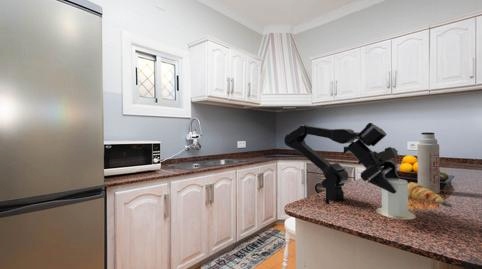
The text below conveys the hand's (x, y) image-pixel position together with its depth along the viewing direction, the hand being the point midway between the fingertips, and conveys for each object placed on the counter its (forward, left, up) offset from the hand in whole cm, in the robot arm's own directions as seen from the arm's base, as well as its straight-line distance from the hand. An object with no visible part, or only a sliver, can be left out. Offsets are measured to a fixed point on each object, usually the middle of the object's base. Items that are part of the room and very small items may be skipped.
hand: (399, 190), depth 73 cm
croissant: (+15, +27, -9) cm, 32 cm away
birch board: (-1, +1, -9) cm, 9 cm away
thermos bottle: (+26, +42, -9) cm, 50 cm away
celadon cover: (-1, +1, -8) cm, 8 cm away
